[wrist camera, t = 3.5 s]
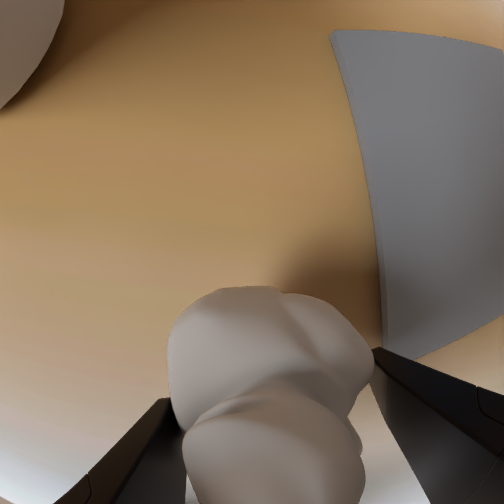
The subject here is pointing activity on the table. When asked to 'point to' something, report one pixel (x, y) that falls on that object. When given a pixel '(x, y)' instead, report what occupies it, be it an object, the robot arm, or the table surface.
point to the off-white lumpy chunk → (268, 397)
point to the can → (24, 40)
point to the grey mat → (430, 179)
